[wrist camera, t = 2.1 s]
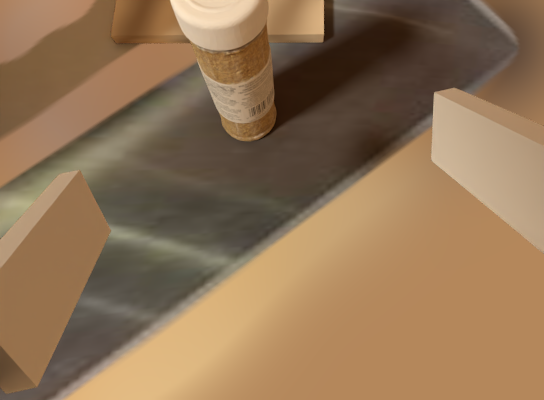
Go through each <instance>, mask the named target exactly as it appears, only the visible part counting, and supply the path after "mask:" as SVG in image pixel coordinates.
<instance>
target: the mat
mask: <svg viewBox="0 0 544 400" xmlns="http://www.w3.org/2000/svg"><path fill="white" fill-rule="evenodd" d="M268 6H269V10H268V17H267V33H268V42H269V43H291V42H323V38H324V0H268ZM111 37H112V38H113V40H114V41H115V43H190V40H189V39H188V38H187V37H186V36H185V34H184V33H183V31H182V30H181V28H180V25H179V23H178V21H177V18H176V16H175V13H174V10H173V8H172V5H171V2H170V0H116V4H115V11H114V17H113V23H112V30H111Z"/></svg>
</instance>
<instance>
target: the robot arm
mask: <svg viewBox="0 0 544 400" xmlns="http://www.w3.org/2000/svg"><path fill="white" fill-rule="evenodd" d="M431 161H432V162H434V163H435V164H436V165H437V166H438V167H440V168H441V169H442V170H443V171H444V172H446V173H447V174H448V175H449V176H450V177H452V178H453V179H454V180H455V181H457V182H458V183H459V184H460V185H461V186H462V187H464V188H465V189H466V190H467V191H469V192H470V193H471V194H472V195H473V196H475V197H476V198H477V199H478V200H479V201H481V202H482V203H483V204H484V205H486V206H487V207H488V208H489V209H490V210H491V211H493V212H494V213H495V214H496V215H497V216H499V217H500V218H501V219H502V220H503V221H505V222H506V223H507V224H508V225H510V226H511V227H512V228H513V229H514V230H516V231H517V232H518V233H519V234H520V235H522V236H523V237H524V238H525V239H526V240H528V241H529V242H530V243H532V245H534V246H535V247H536V248H537V249H539V250H540V251H541V252H542V253H543V254H544V126H543V125H541V124H538V123H536V122H534V121H531V120H529V119H527V118H524V117H522V116H520V115H517V114H515V113H513V112H510V111H508V110H505V109H503V108H501V107H498V106H496V105H494V104H491V103H489V102H487V101H484V100H482V99H480V98H477V97H475V96H473V95H470V94H468V93H466V92H463V91H461V90H459V89H456V88H452V89H447V90H443V91H438V92H434V108H433V130H432V151H431ZM110 232H111V230H110V228H109V226H108V224H107V222H106V220H105V218H104V216H103V214H102V212H101V210H100V208H99V206H98V204H97V202H96V201H95V199H94V197H93V195H92V193H91V191H90V189H89V187H88V185H87V183H86V181H85V179H84V177H83V175H82V173H81V171H80V170H76V171H72V172H67V173H63V174H59V175H58V176H57V177H56V178H55V179H54V180H53V182H52V183H51V184H50V185H49V186H48V187H47V188H46V189H45V190H44V192H43V193H42V194H41V195H40V196H39V197H38V198H37V199H36V200H35V202H34V203H33V204H32V205H31V206H30V207H29V208H28V209H27V211H26V212H25V213H24V214H23V215H22V216H21V217H20V218H19V219H18V221H17V222H16V223H15V224H14V225H13V226H12V227H11V228H10V230H9V231H8V232H7V233H6V234H5V235H4V236H3V237H2V238H1V240H0V388H1V389H2V390H3V391H4V392H5V393H6V394H8V393H13V392H17V391H22V390H26V389H31V388H35V387H38V385H39V382H40V380H41V378H42V376H43V374H44V372H45V370H46V368H47V365H48V363H49V361H50V359H51V357H52V355H53V353H54V351H55V348H56V346H57V344H58V342H59V340H60V338H61V336H62V334H63V331H64V329H65V327H66V325H67V323H68V321H69V319H70V317H71V314H72V312H73V310H74V308H75V306H76V304H77V302H78V300H79V297H80V295H81V293H82V291H83V289H84V287H85V285H86V283H87V280H88V278H89V276H90V274H91V272H92V270H93V268H94V266H95V263H96V261H97V259H98V257H99V255H100V253H101V251H102V249H103V246H104V244H105V242H106V240H107V238H108V236H109V234H110Z"/></svg>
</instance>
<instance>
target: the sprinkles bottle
mask: <svg viewBox="0 0 544 400" xmlns="http://www.w3.org/2000/svg"><path fill="white" fill-rule="evenodd" d="M170 2H171V5H172V8H173V10H174V13H175V16H176V18H177V21H178V23H179V25H180V28H181V30H182V31H183V33H184V34H185V36H186V37H187V38H188V39H189V40H190V43H191V45H192V47H193V50H194V52H195V55H196V57H197V61H198V64H199V67H200V69H201V72H202V74H203V77H204V79H205V82H206V84H207V86H208V89H209V91H210V94H211V96H212V98H213V101H214V103H215V106H216V108H217V110H218V111H219V114H220V116H221V120H222V125H223V127H224V128H225V130H226V132H227V133H228V134H230V135H231V136H232V137H234V138H236V139H237V140H241V141H253V140H258V139H260V138H262V137H264V136H265V135H266V134H267V133H269V132H270V130H271V129H272V127H273V126H274V124H275V120H276V115H277V113H276V107H275V105H274V83H273V71H272V59H271V49H270V46H269V42H268V33H267V17H268V10H269V6H268V0H170Z"/></svg>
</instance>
